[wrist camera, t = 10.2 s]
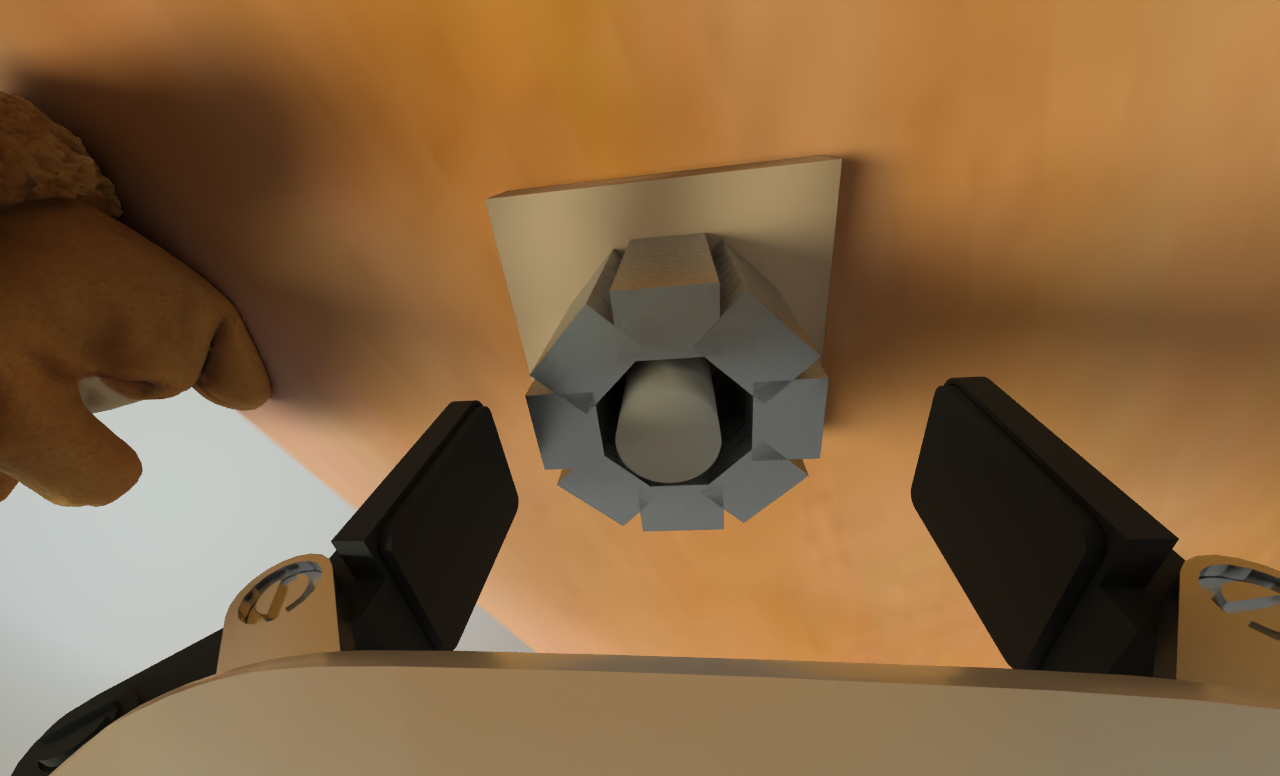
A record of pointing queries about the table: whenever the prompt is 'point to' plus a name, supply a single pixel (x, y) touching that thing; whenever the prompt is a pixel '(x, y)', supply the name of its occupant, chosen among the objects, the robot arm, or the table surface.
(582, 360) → the hub
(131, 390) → the stuffed squirrel
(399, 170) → the table surface
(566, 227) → the shaft stand
